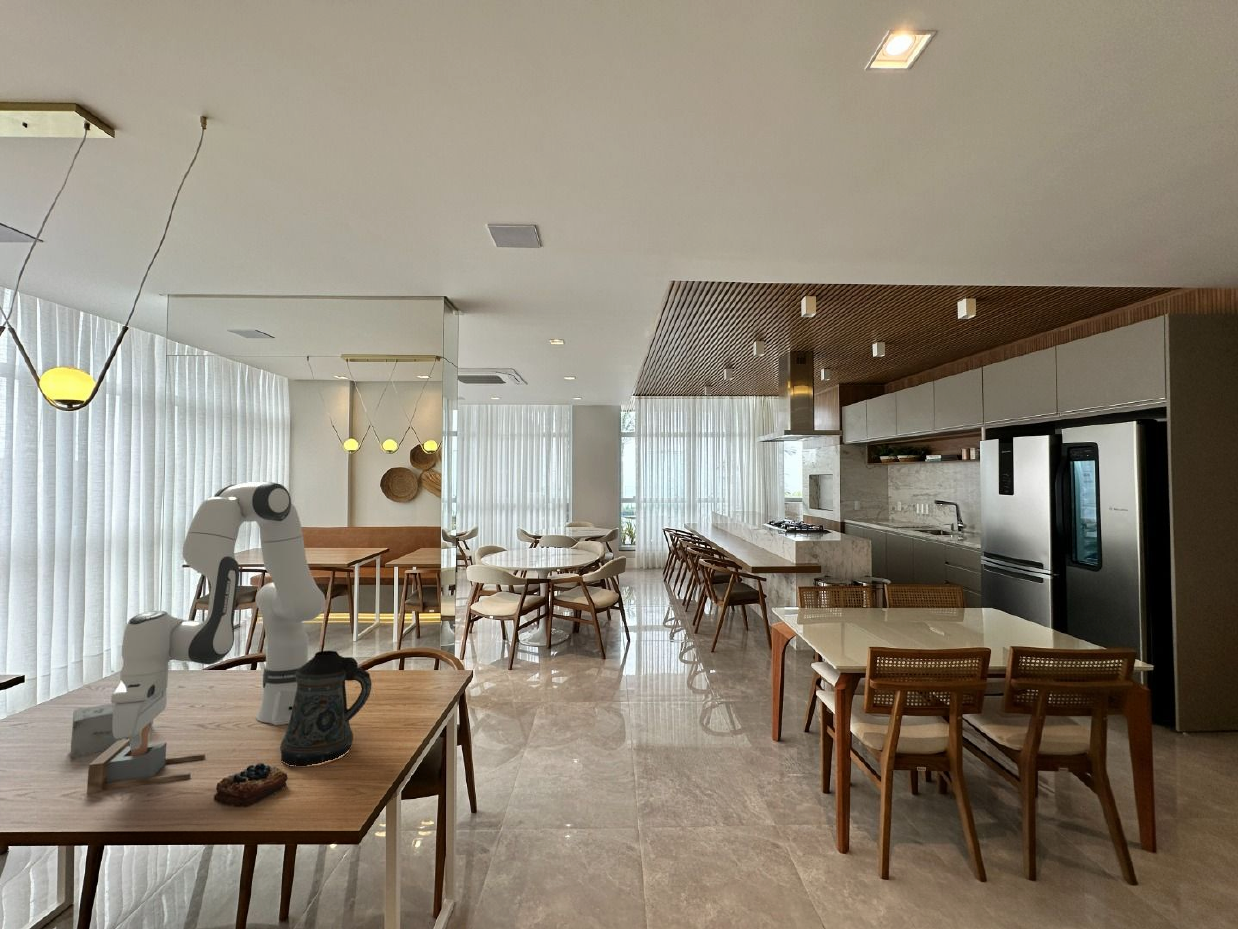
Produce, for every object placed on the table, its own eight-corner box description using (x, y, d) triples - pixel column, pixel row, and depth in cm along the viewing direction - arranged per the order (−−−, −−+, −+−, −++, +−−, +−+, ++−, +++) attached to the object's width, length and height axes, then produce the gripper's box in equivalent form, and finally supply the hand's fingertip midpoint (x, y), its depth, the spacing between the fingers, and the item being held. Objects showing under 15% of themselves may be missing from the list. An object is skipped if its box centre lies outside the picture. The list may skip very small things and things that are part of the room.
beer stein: (273, 751, 149) (278, 651, 151) (354, 733, 161) (358, 640, 163) (287, 774, 136) (292, 665, 138) (373, 753, 149) (377, 652, 151)
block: (165, 763, 141) (166, 742, 141) (150, 780, 133) (152, 757, 133) (124, 768, 138) (125, 746, 138) (106, 785, 130) (108, 762, 130)
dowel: (148, 765, 137) (151, 713, 138) (143, 771, 135) (146, 717, 135) (132, 767, 136) (136, 714, 137) (127, 773, 134) (130, 719, 134)
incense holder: (69, 761, 142) (72, 717, 143) (70, 750, 148) (73, 708, 149) (122, 750, 149) (125, 708, 150) (120, 740, 155) (123, 699, 156)
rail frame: (206, 755, 146) (207, 731, 146) (187, 780, 133) (189, 753, 133) (115, 766, 140) (117, 740, 140) (86, 793, 127) (88, 764, 127)
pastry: (206, 803, 124) (207, 774, 124) (257, 778, 135) (258, 752, 136) (244, 812, 120) (246, 782, 121) (293, 786, 132) (295, 759, 132)
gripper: (145, 672, 145) (141, 729, 145) (107, 698, 126) (102, 764, 125) (176, 670, 148) (172, 726, 147) (143, 695, 129) (138, 760, 128)
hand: (140, 744), depth 136 cm, fingers closed on dowel, 3 cm apart
